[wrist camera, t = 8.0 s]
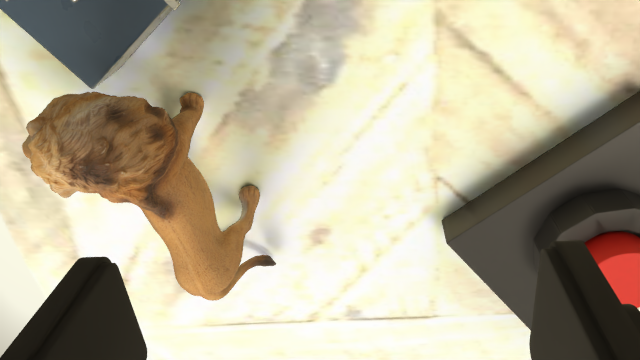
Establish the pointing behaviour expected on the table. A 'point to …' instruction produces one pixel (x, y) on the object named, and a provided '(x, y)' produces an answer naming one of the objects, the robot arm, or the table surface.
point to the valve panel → (89, 30)
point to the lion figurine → (145, 178)
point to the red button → (619, 263)
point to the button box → (552, 206)
